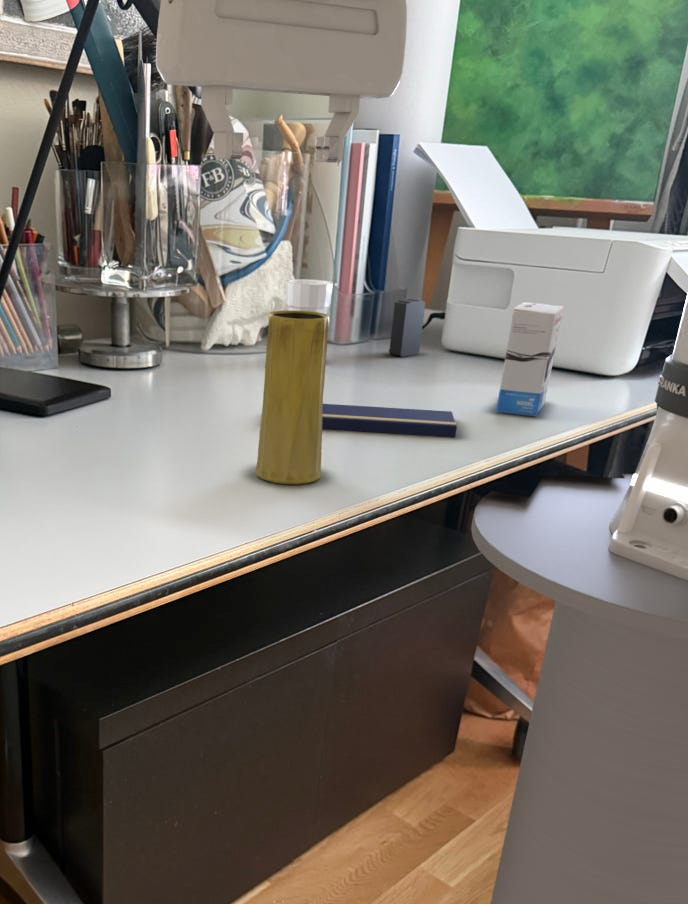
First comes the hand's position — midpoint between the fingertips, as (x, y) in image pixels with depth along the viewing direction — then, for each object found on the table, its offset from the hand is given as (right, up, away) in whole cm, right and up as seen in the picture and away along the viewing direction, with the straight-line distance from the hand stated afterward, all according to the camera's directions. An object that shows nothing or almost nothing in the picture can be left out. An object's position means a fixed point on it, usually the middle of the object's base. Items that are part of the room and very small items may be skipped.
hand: (279, 161), depth 72 cm
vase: (+2, -22, +15) cm, 27 cm away
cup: (+9, +4, +66) cm, 66 cm away
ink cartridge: (+25, +7, +73) cm, 77 cm away
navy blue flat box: (+12, -13, +33) cm, 37 cm away
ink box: (+33, -9, +42) cm, 54 cm away
